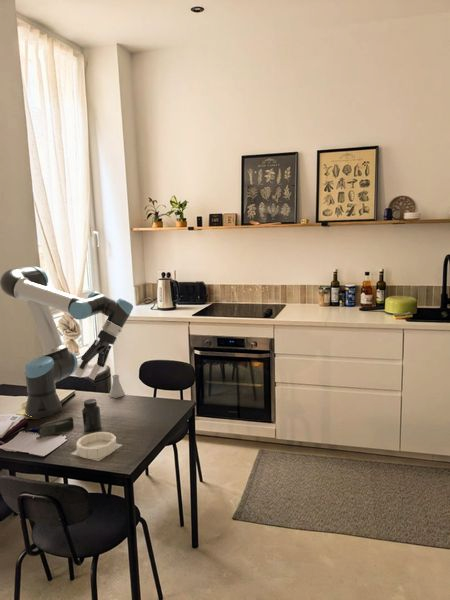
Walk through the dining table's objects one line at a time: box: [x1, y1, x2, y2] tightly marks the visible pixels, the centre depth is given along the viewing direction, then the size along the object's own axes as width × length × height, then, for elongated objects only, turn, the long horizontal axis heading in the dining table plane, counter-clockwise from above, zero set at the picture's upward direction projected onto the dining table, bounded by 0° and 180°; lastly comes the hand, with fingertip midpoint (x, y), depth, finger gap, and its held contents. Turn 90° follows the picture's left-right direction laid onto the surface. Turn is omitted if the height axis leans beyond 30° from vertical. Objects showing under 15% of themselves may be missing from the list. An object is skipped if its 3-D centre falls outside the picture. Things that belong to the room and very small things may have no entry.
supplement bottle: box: [81, 398, 102, 433], centre depth 187 cm, size 7×7×12 cm
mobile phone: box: [35, 416, 75, 440], centre depth 186 cm, size 5×3×15 cm
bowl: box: [75, 431, 117, 460], centre depth 170 cm, size 13×13×4 cm
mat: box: [70, 442, 123, 462], centre depth 170 cm, size 13×13×1 cm
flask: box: [108, 374, 126, 399], centre depth 224 cm, size 7×7×10 cm
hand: (84, 377), depth 199 cm, fingers open, 13 cm apart
